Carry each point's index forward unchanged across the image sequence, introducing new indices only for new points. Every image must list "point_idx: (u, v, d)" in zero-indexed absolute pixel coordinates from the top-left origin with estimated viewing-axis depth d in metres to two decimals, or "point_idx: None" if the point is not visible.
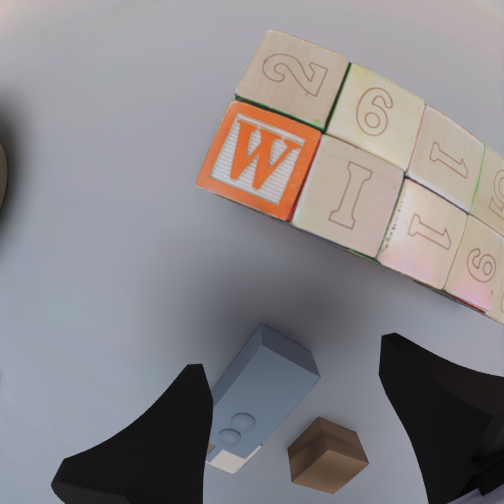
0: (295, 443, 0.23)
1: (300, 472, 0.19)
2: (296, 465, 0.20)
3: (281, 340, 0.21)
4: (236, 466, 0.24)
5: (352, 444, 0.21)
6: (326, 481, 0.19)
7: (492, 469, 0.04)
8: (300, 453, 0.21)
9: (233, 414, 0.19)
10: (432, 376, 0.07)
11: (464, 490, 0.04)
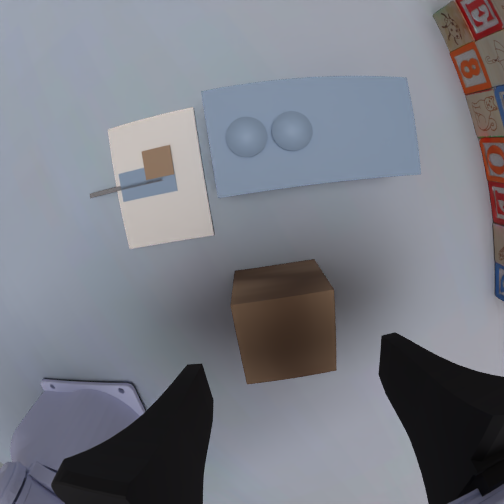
0: (254, 270, 0.17)
1: (257, 299, 0.13)
2: (249, 289, 0.14)
3: None
4: (147, 239, 0.17)
5: None
6: (267, 350, 0.14)
7: (492, 468, 0.04)
8: (263, 280, 0.15)
9: (292, 110, 0.11)
10: (432, 376, 0.07)
11: (464, 490, 0.04)
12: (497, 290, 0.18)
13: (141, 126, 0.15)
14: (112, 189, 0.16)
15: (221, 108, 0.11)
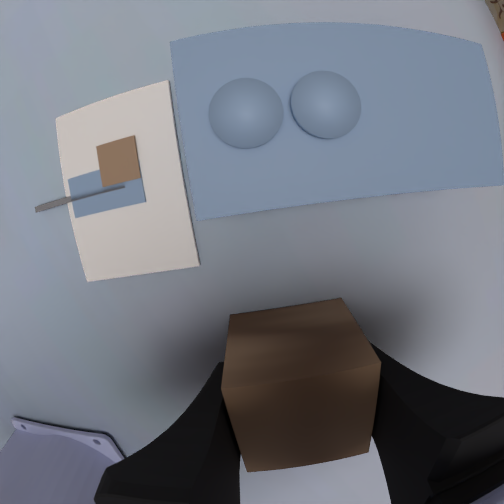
0: (258, 315, 0.12)
1: (263, 378, 0.08)
2: (251, 357, 0.09)
3: None
4: (108, 269, 0.11)
5: None
6: (277, 440, 0.09)
7: (451, 490, 0.04)
8: (271, 337, 0.10)
9: (324, 71, 0.06)
10: (394, 388, 0.07)
11: None
12: None
13: (97, 111, 0.10)
14: (61, 200, 0.11)
15: (202, 67, 0.06)
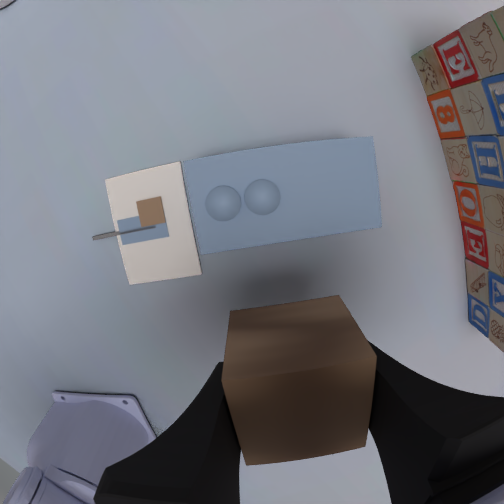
0: (257, 311, 0.12)
1: (262, 371, 0.08)
2: (250, 351, 0.09)
3: None
4: (144, 277, 0.19)
5: None
6: (275, 432, 0.09)
7: (451, 490, 0.04)
8: (270, 332, 0.10)
9: (262, 177, 0.14)
10: (394, 388, 0.07)
11: None
12: (470, 317, 0.20)
13: (135, 178, 0.17)
14: (112, 233, 0.18)
15: (201, 177, 0.14)
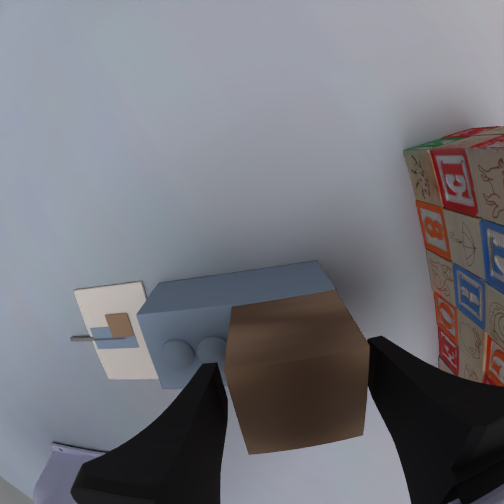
0: (257, 307, 0.13)
1: (261, 361, 0.09)
2: (251, 343, 0.10)
3: None
4: (121, 375, 0.19)
5: None
6: (276, 421, 0.09)
7: (474, 479, 0.04)
8: (269, 326, 0.11)
9: (214, 334, 0.14)
10: (414, 382, 0.07)
11: (446, 499, 0.05)
12: None
13: (101, 293, 0.17)
14: (87, 338, 0.18)
15: (154, 330, 0.14)
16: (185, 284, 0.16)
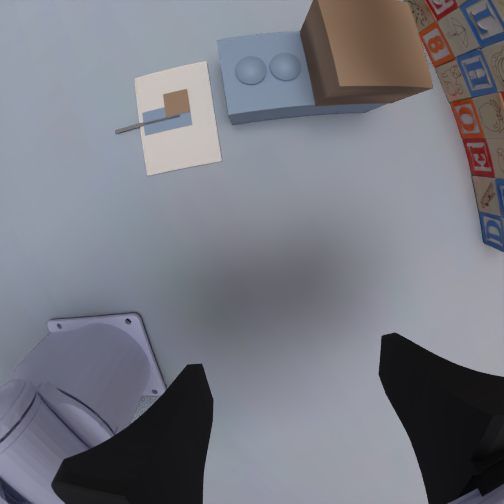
0: None
1: None
2: None
3: None
4: (163, 166, 0.19)
5: None
6: (359, 43, 0.10)
7: (492, 468, 0.04)
8: None
9: (285, 53, 0.14)
10: (432, 376, 0.07)
11: (464, 490, 0.04)
12: (484, 237, 0.20)
13: (163, 75, 0.17)
14: (136, 125, 0.18)
15: (231, 51, 0.14)
16: None
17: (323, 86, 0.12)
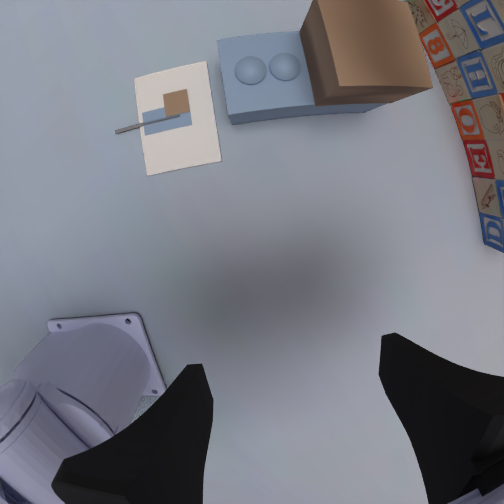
0: None
1: None
2: None
3: None
4: (163, 166, 0.19)
5: None
6: (359, 43, 0.10)
7: (491, 468, 0.04)
8: None
9: (284, 53, 0.14)
10: (432, 376, 0.07)
11: (464, 490, 0.04)
12: (485, 238, 0.20)
13: (163, 75, 0.17)
14: (135, 125, 0.18)
15: (231, 51, 0.14)
16: None
17: (322, 86, 0.12)
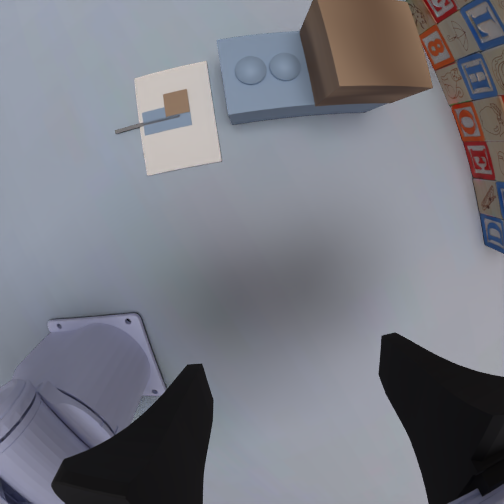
0: None
1: None
2: None
3: None
4: (163, 166, 0.19)
5: None
6: (359, 43, 0.10)
7: (491, 468, 0.04)
8: None
9: (284, 53, 0.14)
10: (432, 376, 0.07)
11: (464, 490, 0.04)
12: (485, 239, 0.20)
13: (163, 75, 0.17)
14: (135, 125, 0.18)
15: (231, 51, 0.14)
16: None
17: (322, 86, 0.12)
